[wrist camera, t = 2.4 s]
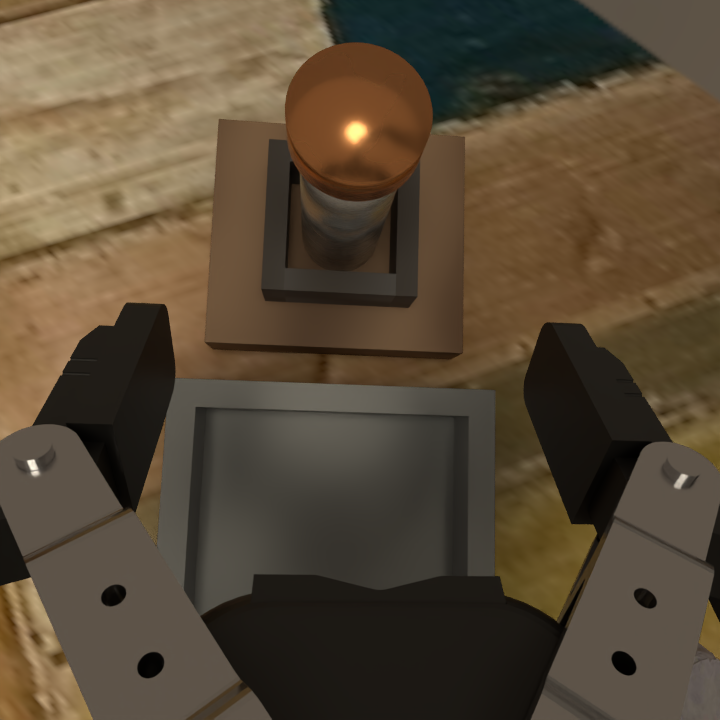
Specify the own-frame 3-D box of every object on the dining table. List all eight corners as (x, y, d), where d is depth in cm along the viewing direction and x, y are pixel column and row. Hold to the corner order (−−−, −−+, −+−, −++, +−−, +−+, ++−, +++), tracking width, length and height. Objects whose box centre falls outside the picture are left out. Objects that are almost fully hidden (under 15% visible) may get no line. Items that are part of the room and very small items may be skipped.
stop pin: (386, 194, 24) (433, 48, 15) (384, 281, 23) (431, 187, 14) (296, 189, 24) (288, 36, 14) (292, 277, 23) (281, 177, 14)
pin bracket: (453, 158, 26) (478, 111, 22) (450, 359, 25) (476, 345, 21) (225, 143, 26) (210, 90, 22) (212, 349, 25) (194, 333, 21)
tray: (473, 394, 25) (495, 390, 22) (471, 693, 24) (494, 731, 21) (185, 384, 24) (168, 377, 21) (165, 695, 23) (143, 734, 20)
